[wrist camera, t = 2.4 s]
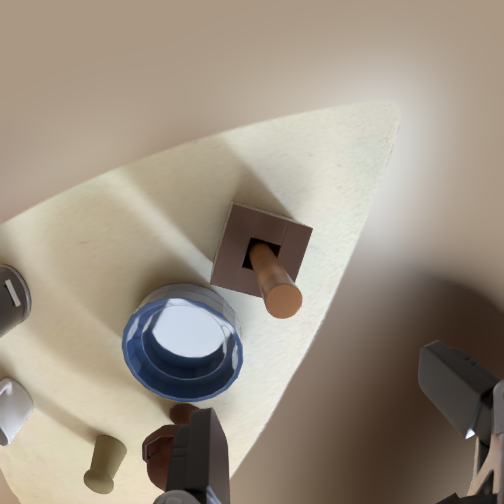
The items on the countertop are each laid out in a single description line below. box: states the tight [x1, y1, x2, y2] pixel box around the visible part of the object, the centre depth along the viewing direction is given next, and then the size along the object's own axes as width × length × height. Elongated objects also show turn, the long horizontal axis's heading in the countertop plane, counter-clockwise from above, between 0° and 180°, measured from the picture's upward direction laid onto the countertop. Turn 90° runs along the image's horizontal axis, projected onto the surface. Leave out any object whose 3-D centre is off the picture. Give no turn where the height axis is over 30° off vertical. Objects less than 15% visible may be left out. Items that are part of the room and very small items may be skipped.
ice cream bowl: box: [142, 404, 199, 491], centre depth 35 cm, size 11×11×15 cm
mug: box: [0, 378, 34, 446], centre depth 34 cm, size 12×8×11 cm
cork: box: [84, 436, 127, 494], centre depth 37 cm, size 6×6×11 cm
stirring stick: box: [247, 237, 302, 319], centre depth 27 cm, size 2×2×20 cm
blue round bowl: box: [122, 283, 243, 402], centre depth 36 cm, size 14×14×6 cm
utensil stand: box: [210, 201, 313, 298], centre depth 33 cm, size 8×8×8 cm
